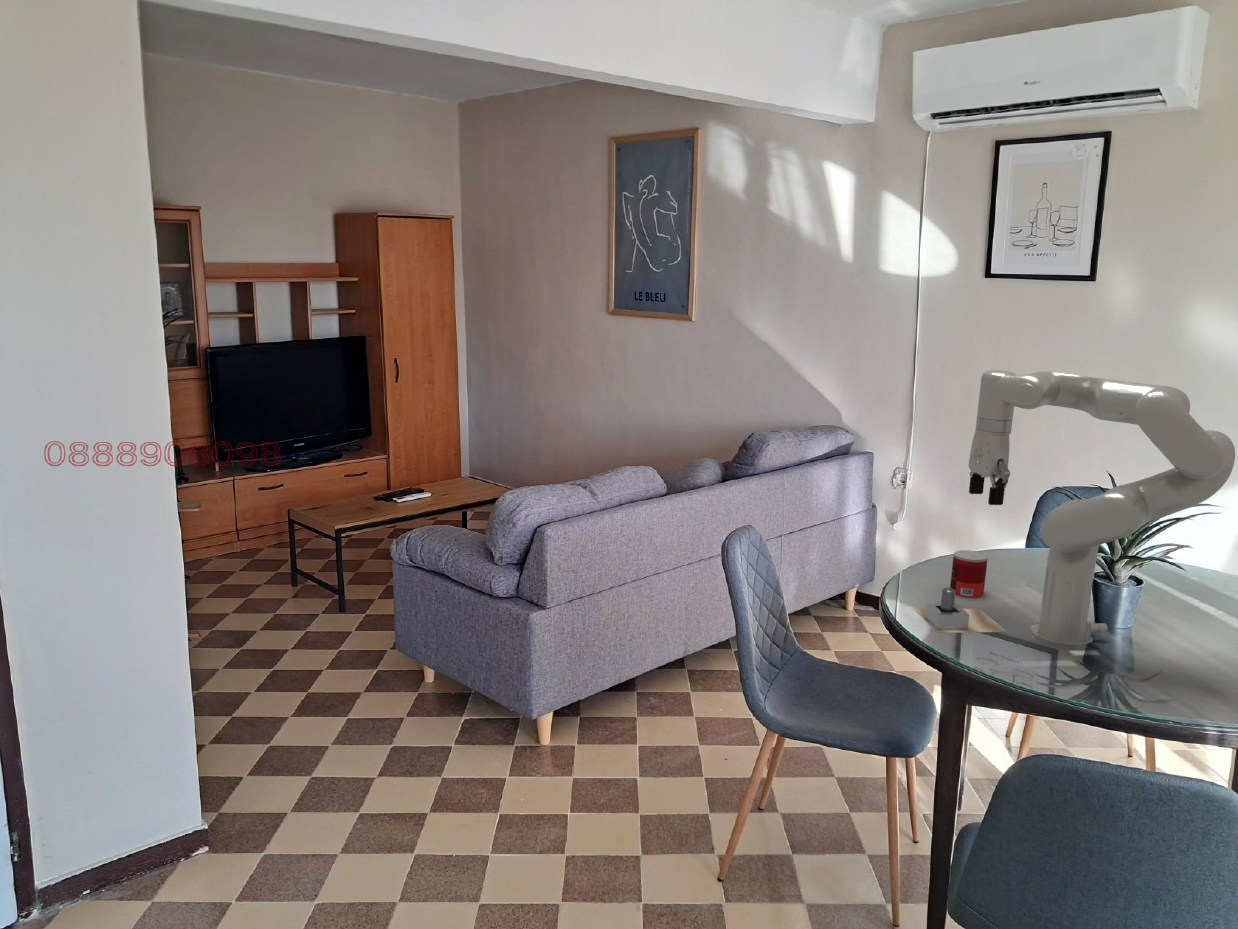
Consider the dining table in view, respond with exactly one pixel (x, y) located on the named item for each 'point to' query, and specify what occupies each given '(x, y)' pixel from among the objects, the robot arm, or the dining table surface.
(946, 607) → the pin
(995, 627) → the board
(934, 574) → the dining table surface
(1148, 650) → the dining table surface
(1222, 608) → the dining table surface
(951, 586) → the canned food
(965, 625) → the collar
